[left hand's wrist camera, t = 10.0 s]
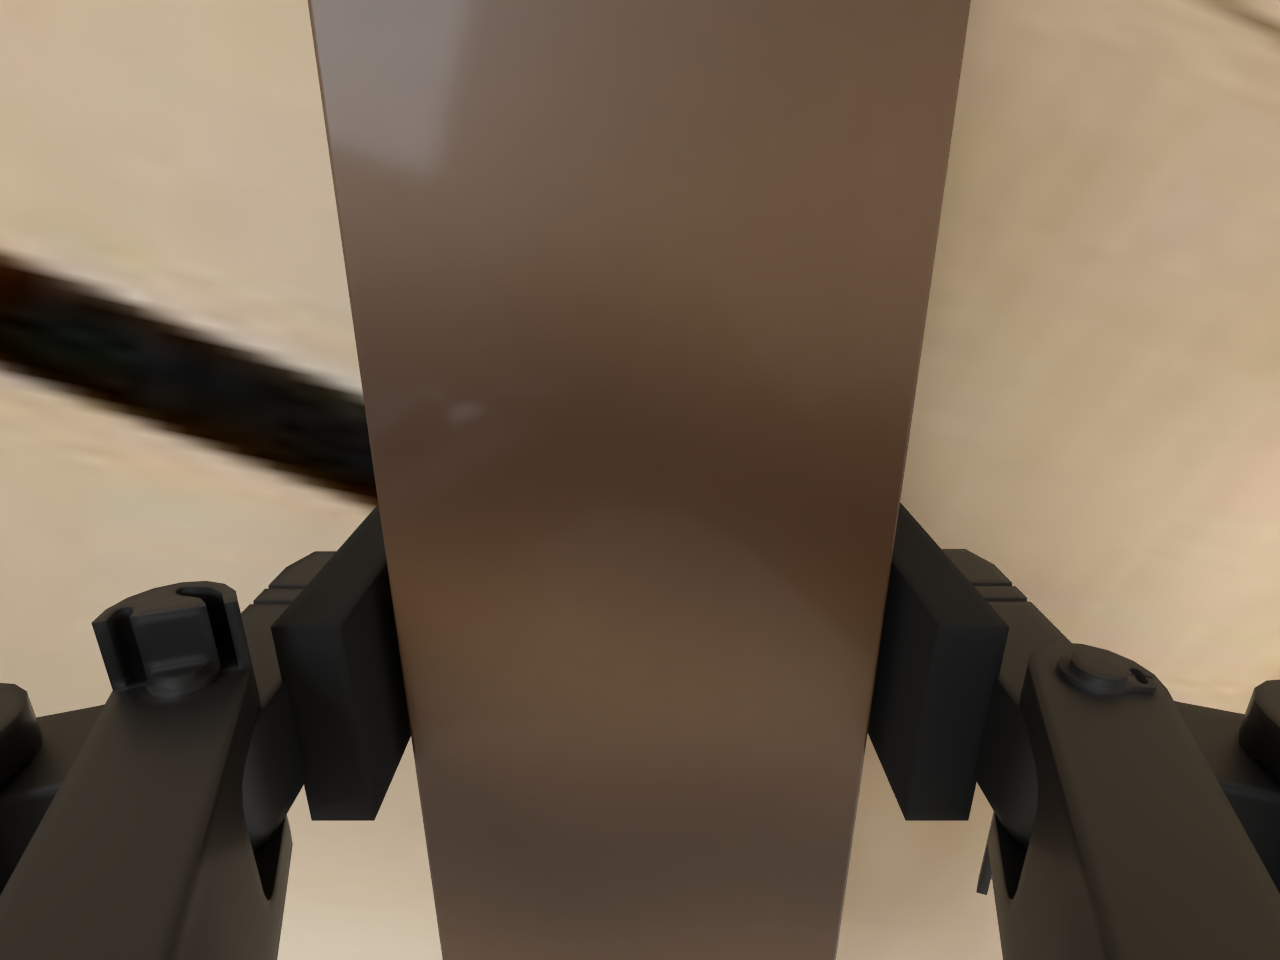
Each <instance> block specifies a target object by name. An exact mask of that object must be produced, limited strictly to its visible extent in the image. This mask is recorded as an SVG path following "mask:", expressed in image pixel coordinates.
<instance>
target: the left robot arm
mask: <svg viewBox="0 0 1280 960" xmlns="http://www.w3.org/2000/svg"><path fill="white" fill-rule="evenodd" d="M92 626H93V629H94V632H95V635H96V638H97V641H98V645H99V648H100V651H101V654H102V657H103V660H104V664H105V667H106V670H107V673H108V676H109V679H110V683H111V686H112V689H113V691H112V693H111V695H110V697H109V698H108V700H107V702H106V704H105V705H101V706H96V707H91V708H85V709H80V710H75V711H69V712H64V713H59V714H54V715H48V716H43V717H38V718H36V716H35V713H34V710H33V708H32V705H31V702H30V699H29V697H28V694H27V691H25V690H23V689H22V688H20V687H19V686H17V685H15V684H6V683H0V960H277V956H278V949H279V941H280V934H281V927H282V919H283V912H284V904H285V897H286V889H287V882H288V875H289V867H290V860H291V852H292V845H293V844H292V838H291V831H290V826H289V822H288V818H287V812H288V811H289V809H290V807H291V805H292V804H293V802H294V800H295V799H296V797H297V795H298V793H299V792H300V790H301V788H302V786H303V785H304V786H305V791H306V796H307V800H308V805H309V810H310V814H311V819H312V820H375V818H376V815H377V813H378V811H379V808H380V806H381V804H382V801H383V799H384V797H385V794H386V792H387V790H388V788H389V785H390V783H391V781H392V778H393V776H394V774H395V771H396V769H397V767H398V764H399V762H400V760H401V758H402V755H403V753H404V751H405V748H406V746H407V744H408V741H409V739H410V737H411V730H410V723H409V716H408V709H407V702H406V694H405V687H404V680H403V673H402V666H401V659H400V652H399V645H398V638H397V630H396V623H395V616H394V609H393V602H392V595H391V588H390V581H389V574H388V567H387V559H386V552H385V545H384V538H383V531H382V524H381V517H380V510H379V504H378V505H377V506H376V507H375V509H374V510H373V511H372V512H371V513H370V514H369V515H368V517H367V518H366V519H365V520H364V521H363V522H362V523H361V524H360V526H359V527H358V528H357V529H356V530H355V531H354V532H353V534H352V535H351V536H350V537H349V538H348V539H347V540H346V542H345V543H344V544H343V545H342V546H341V547H340V548H339V550H338V551H337V552H313V553H311V554H310V555H308V556H306V557H304V558H302V559H300V560H299V561H297V562H295V563H293V564H291V565H289V566H288V567H286V568H285V569H284V570H283V571H282V572H281V573H280V574H279V575H278V576H277V577H276V578H275V579H274V580H273V581H272V582H271V583H270V584H269V588H268V589H265V590H264V591H263V592H262V593H261V594H260V595H259V596H258V597H257V598H256V599H255V600H254V604H250V605H249V606H248V607H247V608H246V609H245V610H244V611H243V612H242V613H240V608H239V604H238V600H237V595H236V591H235V590H233V589H232V588H230V587H229V586H227V585H226V584H222V583H215V582H209V581H198V582H182V583H177V584H172V585H167V586H163V587H158V588H154V589H151V590H148V591H145V592H142V593H140V594H137V595H134V596H131V597H128V598H126V599H125V600H123V601H121V602H119V603H117V604H115V605H114V606H112V607H110V608H108V609H106V610H105V611H104V612H103V613H102V614H101V615H100V616H99V617H97V618H96V619H95V620H94V621H93V622H92ZM868 734H869V737H870V739H871V741H872V744H873V746H874V748H875V751H876V753H877V755H878V757H879V760H880V762H881V764H882V767H883V769H884V771H885V774H886V776H887V778H888V781H889V783H890V785H891V787H892V790H893V792H894V794H895V797H896V799H897V801H898V804H899V806H900V808H901V811H902V813H903V815H904V818H905V820H968V819H969V814H970V810H971V805H972V800H973V796H974V791H975V786H976V782H977V783H978V784H979V786H980V788H981V790H982V791H983V793H984V795H985V796H986V798H987V800H988V802H989V803H990V805H991V807H992V808H993V810H994V813H993V818H992V822H991V826H990V831H989V835H988V840H987V844H986V848H985V853H984V857H983V861H982V866H981V870H980V874H979V880H978V886H977V893H981V894H985V895H987V892H988V888H989V884H990V880H991V879H992V880H993V888H994V895H995V902H996V910H997V917H998V925H999V932H1000V939H1001V947H1002V954H1003V960H1280V680H1270V681H1265V682H1264V683H1262V684H1260V685H1259V686H1257V687H1256V688H1255V689H1254V691H1253V694H1252V697H1251V700H1250V702H1249V705H1248V708H1247V710H1246V713H1245V714H1239V713H1234V712H1229V711H1223V710H1218V709H1213V708H1207V707H1202V706H1197V705H1191V704H1186V703H1181V702H1177V701H1173V699H1172V697H1171V695H1170V693H1169V692H1168V690H1167V688H1166V687H1165V686H1164V685H1163V684H1162V683H1161V682H1160V681H1159V679H1158V678H1157V677H1156V676H1155V675H1154V674H1153V673H1151V672H1149V671H1148V670H1146V669H1145V668H1143V667H1142V666H1140V665H1139V664H1137V663H1136V662H1134V661H1132V660H1130V659H1127V658H1125V657H1123V656H1120V655H1118V654H1115V653H1113V652H1111V651H1108V650H1104V649H1100V648H1096V647H1092V646H1088V645H1084V644H1073V643H1071V642H1070V641H1069V640H1068V639H1067V638H1066V637H1065V636H1064V635H1063V634H1062V633H1061V632H1060V631H1059V630H1058V629H1057V628H1056V627H1055V626H1054V625H1053V624H1052V623H1051V622H1050V621H1049V620H1048V619H1047V618H1046V617H1045V616H1044V615H1043V614H1042V613H1041V612H1040V611H1039V610H1038V609H1037V608H1036V607H1035V606H1034V605H1033V604H1032V603H1031V602H1027V598H1026V597H1025V596H1024V595H1023V593H1022V592H1021V591H1020V590H1019V589H1018V588H1017V587H1016V586H1012V582H1011V581H1010V580H1009V579H1008V578H1007V577H1006V576H1005V575H1004V574H1003V573H1002V572H1001V571H1000V570H999V569H998V568H997V567H996V566H995V565H994V564H992V563H990V562H988V561H986V560H985V559H983V558H981V557H979V556H977V555H975V554H973V553H972V552H970V551H968V550H966V549H941V548H940V547H939V546H938V545H937V544H936V543H935V542H934V540H933V539H932V538H931V537H930V536H929V535H928V534H927V532H926V531H925V530H924V529H923V528H922V527H921V526H920V524H919V523H918V522H917V521H916V520H915V519H914V518H913V516H912V515H911V514H910V513H909V512H908V511H907V510H906V509H905V507H904V506H903V505H902V504H901V503H900V505H899V512H898V519H897V526H896V534H895V541H894V548H893V555H892V562H891V569H890V576H889V583H888V590H887V597H886V605H885V612H884V619H883V626H882V633H881V640H880V647H879V654H878V661H877V668H876V676H875V683H874V690H873V697H872V704H871V711H870V718H869V725H868Z"/></svg>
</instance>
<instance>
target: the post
mask: <svg viewBox="0 0 1280 960" xmlns="http://www.w3.org/2000/svg"><path fill="white" fill-rule="evenodd" d="M970 1H971V0H308V5H309V12H310V20H311V27H312V34H313V41H314V48H315V55H316V62H317V69H318V76H319V83H320V91H321V98H322V105H323V112H324V119H325V126H326V133H327V140H328V147H329V154H330V162H331V169H332V176H333V183H334V190H335V197H336V204H337V211H338V218H339V226H340V233H341V240H342V247H343V254H344V261H345V268H346V275H347V282H348V289H349V297H350V304H351V311H352V318H353V325H354V332H355V339H356V346H357V353H358V361H359V368H360V375H361V382H362V389H363V396H364V403H365V410H366V417H367V424H368V432H369V439H370V446H371V453H372V460H373V467H374V474H375V481H376V488H377V495H378V503H379V510H380V517H381V524H382V531H383V538H384V545H385V552H386V559H387V567H388V574H389V581H390V588H391V595H392V602H393V609H394V616H395V623H396V630H397V638H398V645H399V652H400V659H401V666H402V673H403V680H404V687H405V694H406V702H407V709H408V716H409V723H410V730H411V737H412V744H413V751H414V758H415V765H416V773H417V780H418V787H419V794H420V801H421V808H422V815H423V822H424V829H425V836H426V844H427V851H428V858H429V865H430V872H431V879H432V886H433V893H434V900H435V908H436V915H437V922H438V929H439V936H440V943H441V950H442V957H443V960H836V953H837V945H838V938H839V931H840V924H841V917H842V910H843V903H844V896H845V889H846V881H847V874H848V867H849V860H850V853H851V846H852V839H853V832H854V825H855V818H856V810H857V803H858V796H859V789H860V782H861V775H862V768H863V761H864V754H865V747H866V739H867V732H868V725H869V718H870V711H871V704H872V697H873V690H874V683H875V676H876V668H877V661H878V654H879V647H880V640H881V633H882V626H883V619H884V612H885V605H886V597H887V590H888V583H889V576H890V569H891V562H892V555H893V548H894V541H895V534H896V526H897V519H898V512H899V505H900V498H901V491H902V484H903V477H904V470H905V462H906V455H907V448H908V441H909V434H910V427H911V420H912V413H913V406H914V399H915V391H916V384H917V377H918V370H919V363H920V356H921V349H922V342H923V335H924V328H925V320H926V313H927V306H928V299H929V292H930V285H931V278H932V271H933V264H934V257H935V249H936V242H937V235H938V228H939V221H940V214H941V207H942V200H943V193H944V186H945V178H946V171H947V164H948V157H949V150H950V143H951V136H952V129H953V122H954V114H955V107H956V100H957V93H958V86H959V79H960V72H961V65H962V58H963V51H964V43H965V36H966V29H967V22H968V15H969V8H970Z"/></svg>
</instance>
